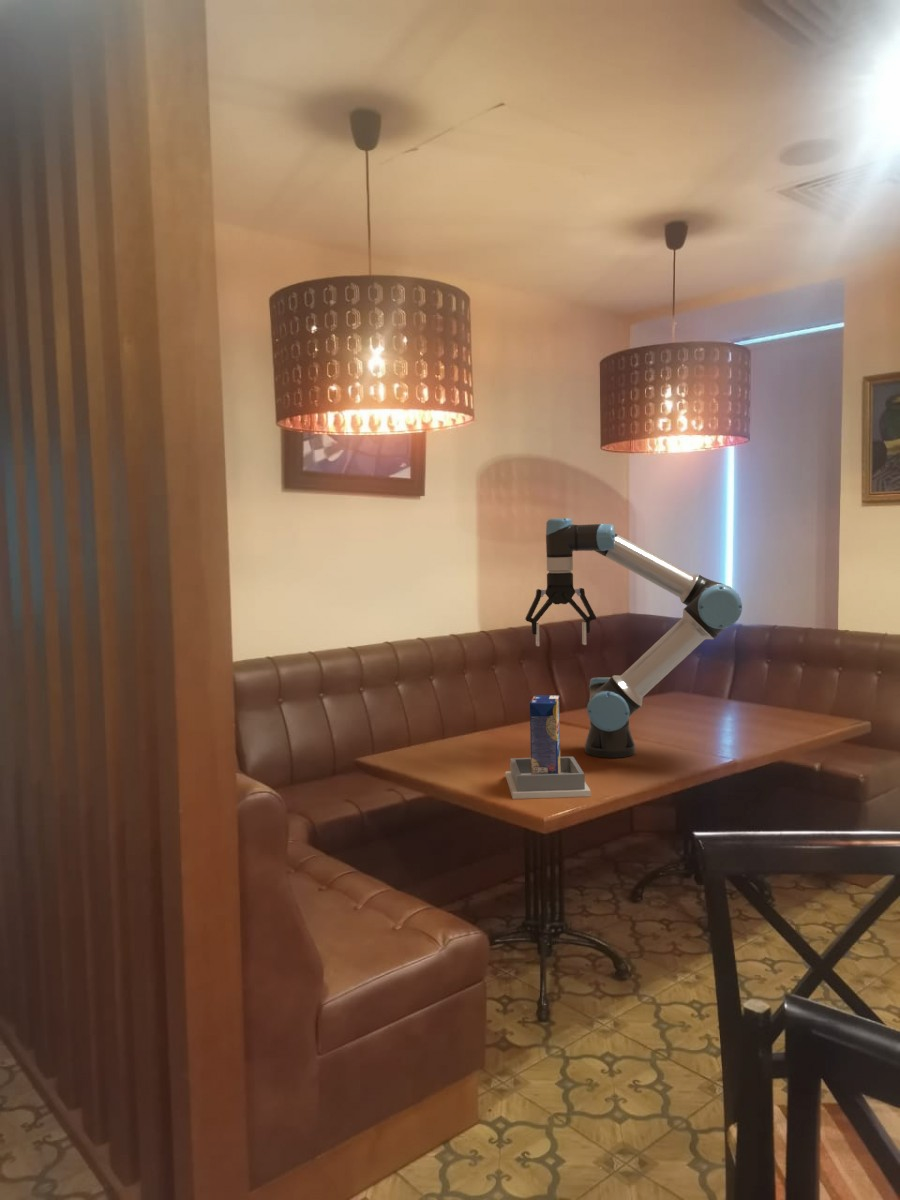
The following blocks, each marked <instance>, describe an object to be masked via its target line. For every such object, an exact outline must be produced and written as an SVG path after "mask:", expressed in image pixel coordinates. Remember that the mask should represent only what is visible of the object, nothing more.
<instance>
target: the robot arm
mask: <svg viewBox="0 0 900 1200" xmlns="http://www.w3.org/2000/svg"><path fill="white" fill-rule="evenodd" d="M545 524H546V526H545V527H546V528H545V529H546V530H545V547H546V550H545V551H546V552H545V553H546V571H547V574H546V589H539V588H538V589H536V591H535V597H534V599H533V601H532V604H531V606H530V608H529V610H528V612H527V614H526V616H525V618H524V620H525V621H526V622H529V623H531V633H532V635H535V646H536V647H540V646H541V645H540V644H541V643H540V623H539V622H538V621H539V620H540V618H542V616H543V615H544V614H545V613H546V611H547V610H548V609H549V608H550V607H551V605H553V604H554V605H561V604H562V605H567V604H569V605H570V606H571V607H572V608H573V609H574V610H575V611H576V612H577V614H579V616H580V617H581V618H582V620H584V621H581V644H582V645H584V646H586V645H587V634H589V633H590V631H591V622H592V621H593V620H596V619H597V616H596V614H595V612H594V610H593V609H592V606H591V604H590V603H589V600H588V599H587V596H586V594H585V588H582V587H579V588H574V574H573V572H572V571H574V562H573V561H574V560H573V558H574V557H573V552H578V551H579V552H582V551H584V552H585V551H586V552H587V551H589V552H590V551H591V552H592V551H593V552H595V553H597V554H599V555H601V556H604V557H605V558H607V559H609V560H611V561H612V562H615V563H616V564H618V565H620V566H622V567H624V568H625V569H627V570H628V571H631V572H633V573H635V574H636V575H639V576H640V577H642V578H644V579H646V580H647V581H648V582H651V583H652V584H655V585H656V586H658V587H660V588H662V589H663V590H665V591H667V592H669V593H671V594H673V595H675V596H676V597H678V598H679V600H680V602H681V603H682V604H684V605H685V607H684V608H683V610H682V618H680V619H679V620H678V621H677V622H676V623H675V624H674V625H673V626H672V627H671V628H669V630H668V631H667V632H666V633H665V634H663V636H661V637H660V638H659V639H658V640H657V641H656V642H655V643H654V644H653V645H652V646H651V647H650V648H649V649H648V650H646V652H644V653H643V654H642V655H641V656H640V657H639V658H638V659H637V660H636V661H634V663H633V664H631V666H629V667H628V669H627V670H625V671H624V672H623V673H622V674H621V675H616V674H615V675H612V676H611V677H592V678H590V679H589V686H588V688H589V700H588V702H587V705H586V712H587V716H588V719H589V721H590V727H589V731H588V733H587V737H586V739H585V743H584V752H585V753H586V755H589V756H592V757H597V758H603V759H604V758H607V759H609V758H610V759H613V758H614V759H618V758H619V759H620V758H626V757H631V756H633V755H635V754H636V744H635V741H634V739H633V735H632V732H631V729H630V717H631V716H632V715H633V714H634V713H635V712H636V711H638V710H639V709H640V708H641V707H642V706H643V698H644V696H645V695H647V694H648V693H649V692H650V691H651V690H652V689H653V688H654V687H656V685H657V684H659V683H660V682H661V681H662V680H663V679H664V678H665V677H666V676H667V675H669V673H671V671H673V670H674V669H675V668H676V667H677V666H678V665H679V664H680V663H682V662H683V661H684V660H685V659H686V658H687V657H688V656H689V655H690V654H692V652H693V651H694V650H696V648H698V646H699V645H701V644H702V643H703V642H704V641H705V640H714V639H715V638H716V637H718V636H719V635H720V634H721V633H722V632H723V631H724V630H725V629H728V628H730V627H731V626H734V625H735V623H737V622H738V620H739V619H740V617H741V614H742V612H743V602H742V598H741V597H740V595H739V593H738V592H737V591H736V590H735V589H734V588H732V587H731V586H729V585H726V584H724V583H721V582H718V581H714V580H711V579H710V578H706V577H704V576H702V575H701V574H699V573H695V574H691V573H690V572H688V571H686V570H684V569H682V568H681V567H678V566H677V565H675V564H673V563H671V562H669V561H667V560H666V559H663V558H662V557H660V556H658V555H656V554H655V553H652V552H650V551H649V550H647V549H645V548H643V547H642V546H640V545H638V544H636V543H634V542H633V541H630V540H629V539H627V538H625V537H623V536H621V535H619V534H617V533H615V526H614V525H613V524H611V523H599V524H598V523H596V524H595V523H594V524H590V523H589V524H574V523H573V520H572V518H570V517H565V518H549V519H548V520H547V521H546V523H545ZM575 594H576V596H577V597H579V598H580V600H581V602H582V604H583V606H584V608H585V610H586V611H587V613H588V615H589V616H588V615H587V614H586V613H585V612H584V611H583V610H582V608H581V607H580V606H579V605H578V603H577V602H576V601H575V600H574V599H573V597H574V595H575ZM544 595H545V596H546V597H547V600H546V601H545V603H544V604H543V605H542V607H541V608H540V609H539V610H538V611H537V612H536V614H535V615H534V613H535V611H536V609H537V607H538V605H539V603H540V601H541V598H543V597H544ZM533 615H534V616H533ZM532 617H533V618H532Z"/></svg>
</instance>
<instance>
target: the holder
mask: <svg viewBox="0 0 900 1200" xmlns="http://www.w3.org/2000/svg"><path fill="white" fill-rule="evenodd" d="M509 764H510V771H505V779H506V781H507V785H508V789H509V791H510V794H511V798H512V800H519V799H521V800H523V799H526V800H527V799H550V798H551V799H552V798H553V799H555V798H559V799H560V798H584V797H585V798H587V797H592V791H591V789H590V787H589V785H588V784H587V782H586V780H585V779H586V778H585V773H584V771H583V769H582V768H581V766H580V765H579V763H578V761H577V760H576V758H575V757H574V756H560V768H561V774H531V757H519V758H518V757H517V758H516V757H514V758H510V763H509Z"/></svg>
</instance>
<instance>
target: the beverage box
mask: <svg viewBox="0 0 900 1200" xmlns="http://www.w3.org/2000/svg"><path fill="white" fill-rule="evenodd" d="M560 709H561V707H560V695H551V694H550V695H548V694H547V695H546V694H545V695H542V694H541V695H540V694H539V695H538V694H536V695H535V694H534V695H533V697H532V698H531V700H530V702H529V725H530V729H529V731H530V734H529V736H530V758H531V774H561V768H560V757H561V728H560V727H561V723H560V722H561V719H560V713H561V712H560Z"/></svg>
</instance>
